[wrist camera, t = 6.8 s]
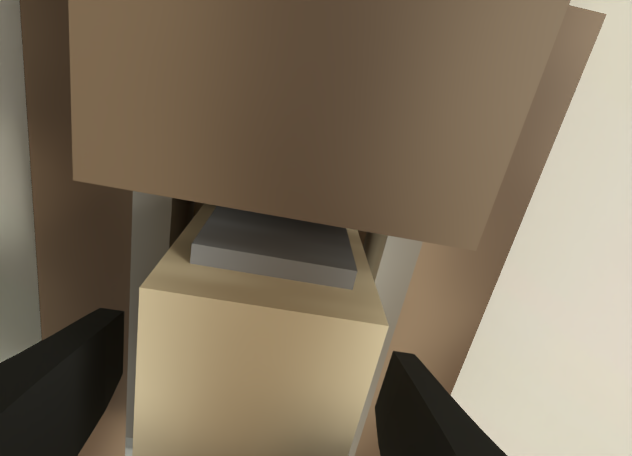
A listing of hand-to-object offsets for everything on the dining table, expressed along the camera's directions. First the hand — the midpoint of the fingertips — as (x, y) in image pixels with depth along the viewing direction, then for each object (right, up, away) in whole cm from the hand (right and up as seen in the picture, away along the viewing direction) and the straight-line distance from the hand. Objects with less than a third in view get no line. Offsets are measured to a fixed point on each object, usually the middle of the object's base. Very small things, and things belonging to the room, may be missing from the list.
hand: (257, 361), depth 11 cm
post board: (-1, -1, +6) cm, 6 cm away
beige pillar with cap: (0, +1, +4) cm, 4 cm away
